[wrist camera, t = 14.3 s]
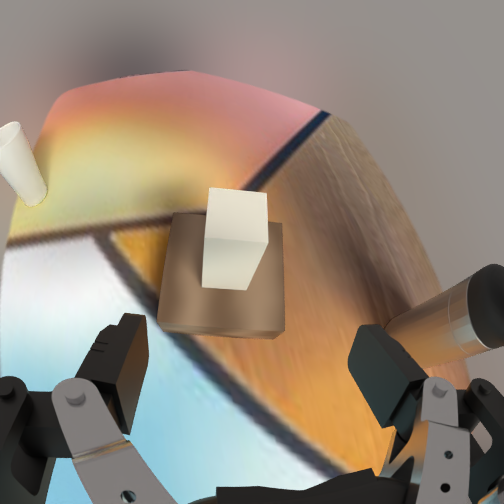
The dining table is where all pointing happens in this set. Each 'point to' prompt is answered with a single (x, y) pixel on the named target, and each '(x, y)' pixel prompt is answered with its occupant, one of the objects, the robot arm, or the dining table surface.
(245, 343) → the dining table surface
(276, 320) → the walnut box
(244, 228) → the offwhite block
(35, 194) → the drinking glass
